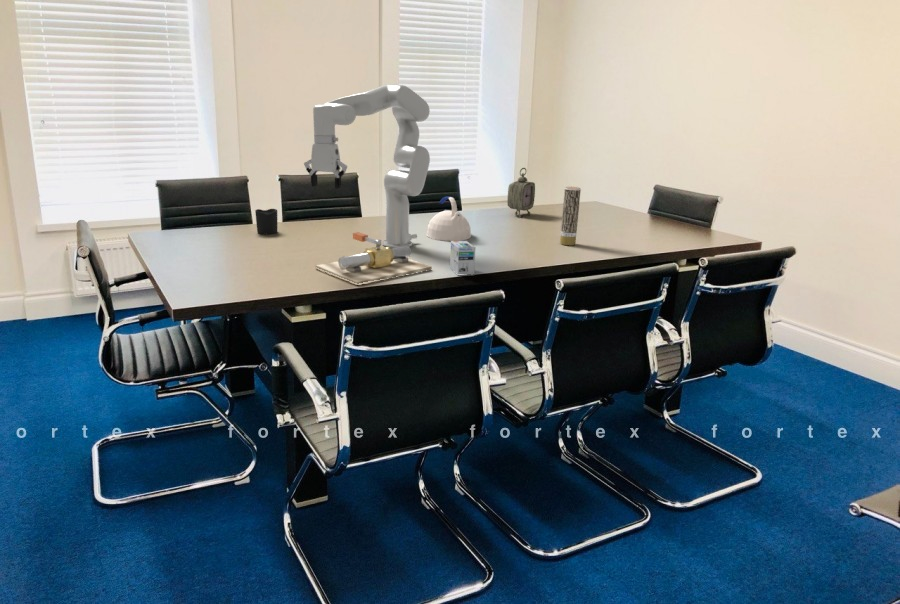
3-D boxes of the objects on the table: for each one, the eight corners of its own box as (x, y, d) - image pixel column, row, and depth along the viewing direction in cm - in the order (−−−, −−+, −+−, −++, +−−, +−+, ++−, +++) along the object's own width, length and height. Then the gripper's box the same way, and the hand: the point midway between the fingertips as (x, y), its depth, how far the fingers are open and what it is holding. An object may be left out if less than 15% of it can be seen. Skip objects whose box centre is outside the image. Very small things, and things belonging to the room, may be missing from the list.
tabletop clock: (520, 218, 356) (524, 169, 348) (505, 216, 360) (508, 168, 352) (533, 214, 367) (536, 167, 359) (518, 212, 372) (521, 165, 364)
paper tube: (564, 241, 310) (569, 186, 302) (577, 244, 306) (583, 188, 298) (557, 244, 304) (562, 187, 296) (571, 246, 301) (576, 189, 293)
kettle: (437, 242, 300) (438, 201, 294) (419, 232, 317) (420, 193, 312) (478, 240, 308) (480, 199, 302) (459, 230, 325) (461, 192, 320)
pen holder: (270, 235, 301) (269, 213, 298) (252, 233, 303) (250, 211, 300) (282, 231, 309) (281, 209, 306) (264, 229, 312) (263, 207, 309)
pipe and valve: (402, 258, 266) (402, 239, 264) (412, 262, 262) (412, 242, 260) (337, 271, 246) (336, 250, 244) (346, 275, 242) (346, 253, 240)
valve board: (388, 255, 275) (388, 252, 275) (431, 270, 258) (431, 266, 257) (315, 269, 253) (315, 265, 253) (357, 286, 235) (357, 282, 235)
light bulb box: (474, 275, 253) (476, 246, 250) (457, 276, 252) (458, 247, 248) (466, 267, 263) (467, 240, 260) (449, 268, 261) (450, 240, 258)
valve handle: (358, 237, 263) (358, 232, 262) (382, 245, 252) (382, 239, 252) (352, 238, 261) (352, 233, 260) (377, 246, 251) (377, 240, 250)
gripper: (350, 140, 251) (351, 187, 257) (308, 137, 256) (310, 183, 262) (341, 142, 244) (342, 190, 250) (298, 139, 249) (300, 186, 255)
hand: (326, 187), depth 256 cm, fingers open, 9 cm apart
